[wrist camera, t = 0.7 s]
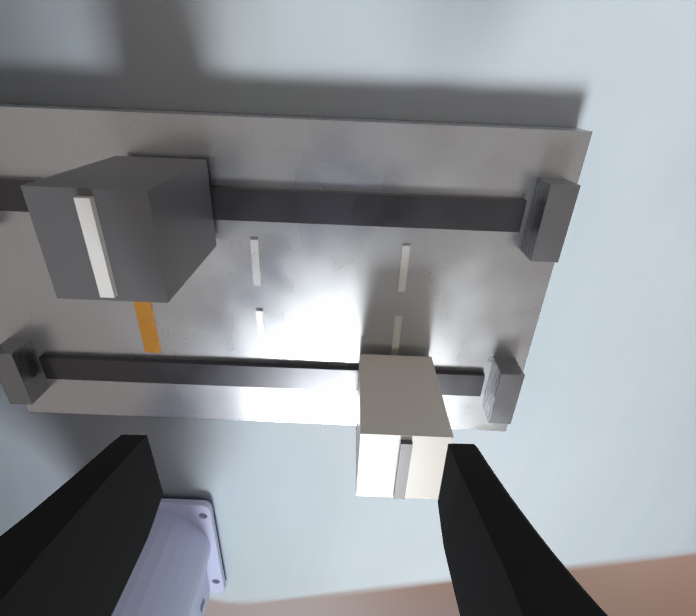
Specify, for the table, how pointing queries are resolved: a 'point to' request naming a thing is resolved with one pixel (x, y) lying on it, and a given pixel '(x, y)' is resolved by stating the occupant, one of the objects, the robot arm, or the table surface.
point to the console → (296, 264)
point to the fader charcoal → (123, 227)
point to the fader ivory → (400, 428)
